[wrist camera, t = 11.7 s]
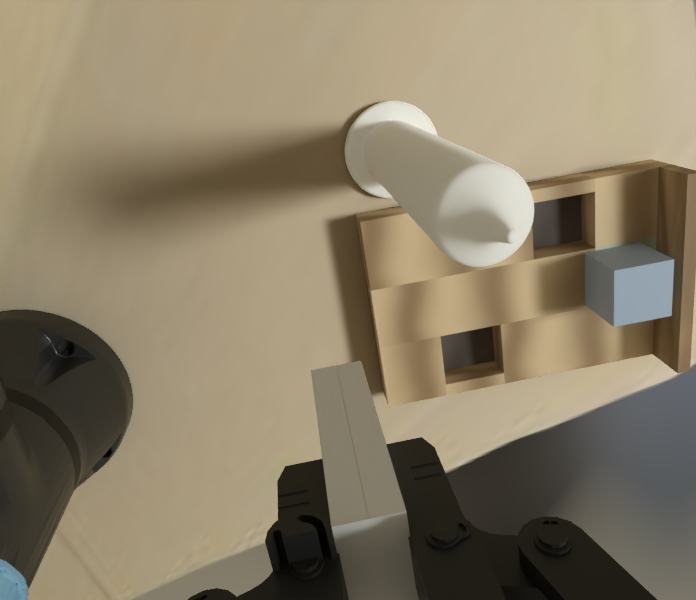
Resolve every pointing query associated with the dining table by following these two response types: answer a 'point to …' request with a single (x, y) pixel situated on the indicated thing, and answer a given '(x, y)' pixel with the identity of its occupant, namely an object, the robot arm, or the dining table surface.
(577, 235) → the board
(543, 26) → the dining table surface
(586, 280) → the block
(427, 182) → the candle
